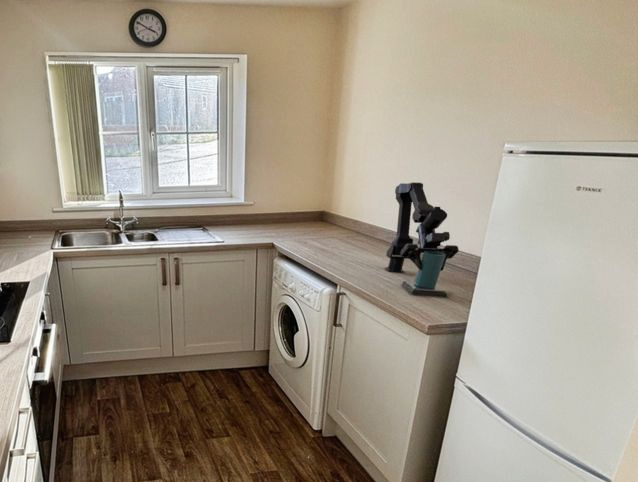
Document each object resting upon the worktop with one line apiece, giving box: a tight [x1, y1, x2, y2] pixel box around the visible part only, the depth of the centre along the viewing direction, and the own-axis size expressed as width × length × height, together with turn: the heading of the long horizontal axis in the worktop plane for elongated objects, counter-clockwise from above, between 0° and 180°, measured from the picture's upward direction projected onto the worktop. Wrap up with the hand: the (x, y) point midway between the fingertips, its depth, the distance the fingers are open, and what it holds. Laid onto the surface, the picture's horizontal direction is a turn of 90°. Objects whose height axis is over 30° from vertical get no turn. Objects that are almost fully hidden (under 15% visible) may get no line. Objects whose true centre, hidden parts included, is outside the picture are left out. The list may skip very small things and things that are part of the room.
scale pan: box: [406, 280, 447, 293], centre depth 180 cm, size 11×11×1 cm
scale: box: [401, 280, 448, 298], centre depth 181 cm, size 14×12×2 cm
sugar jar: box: [414, 251, 446, 288], centre depth 177 cm, size 7×7×13 cm
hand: (431, 269), depth 176 cm, fingers closed on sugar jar, 7 cm apart
